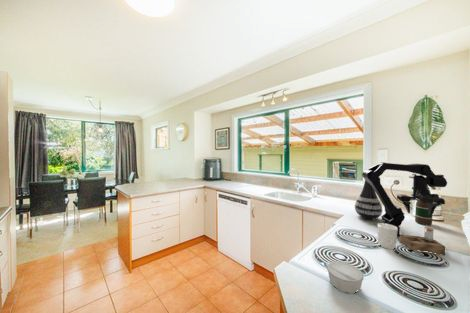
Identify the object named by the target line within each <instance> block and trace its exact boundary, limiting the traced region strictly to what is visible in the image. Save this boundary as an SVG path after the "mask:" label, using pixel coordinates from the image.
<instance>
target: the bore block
mask: <svg viewBox="0 0 470 313" xmlns="http://www.w3.org/2000/svg"><path fill="white" fill-rule="evenodd" d="M399 235H400V236H399V243H400V244H402V245H403V246H404V245H405V246H406V247H408V248H409V249H411V250H420V251H428V252H432V253H436V254H435V255H440V254H443V255H442V256H445V255H446V246H445V245H444V244H443V243H441V242H439V241H437V240H436V239H434V238H433V243H427V242H425V241H424V236H419V235H410V234H401V233H400V234H399ZM405 246H404V247H405ZM406 247H405V248H406ZM408 248H407V249H408ZM409 249H408V250H409ZM432 253H431V254H432Z"/></svg>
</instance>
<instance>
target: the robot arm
mask: <svg viewBox="0 0 470 313" xmlns="http://www.w3.org/2000/svg"><path fill="white" fill-rule="evenodd" d="M386 170H389V171H401V172H408V173H412V174H411V175H409V176H408V178H409V179H413V185H412V187H411V189H412V194H411V196H409V195H407V194H400V193H398V194H397V195H396V199H397V200H398V201H400V202H401V203H402V204H403V205H404V208H405V209H406V212H407V213H408V214H410V213H411V201H416V202H417V201H421V202H423V203H428V213H429V215H430V216H431V214H432V213H433V212H434V211H435V209H436V208H437V207H440V206H442V205H445V204H446V200H445V199H444V198H442V197H440V196H439V194H438V193H430V189H428V188H429V187H430V188H445V187H447V185H448V181H447V178H445V175H444V174H435V172H433V170H432V169H431V167H430V165H429V164H426V163H425V164H423V163H409V164H402V163H390V162H389V163H388V162H382V161H380V162H378V163H377V164H375V165H373V166H371V167H369V168H368V169H365V170H364V171H362V174H361V176H362V178H363V179H364V181H365V180H366V181H367V182H368V183H369V184H370V185H371V186H372V187H373V189H374V190H375V192H376V195H377V197H378V199H379V201H380V203H382V205H383V207H384V212H385V213H383V215H382V214H381V216H380V217H381V219H382V222H383V223H386V224H390V225H393V226H396V227H397V228H398V232H397V237H400V234H401V233H400V232H401V230H400V228H401V225H402V223H403V221H404V220H405V218H406V217H405V215H406V214H405V212H403V210H402V208H401V207H400V206H398V205H395V204H394V203H393V201H392V200H391V198H390V195H388V193H387V191H386V190H385V188H384V187H383V185H382V184H381V177H380V176H382V175H383V173H385V171H386ZM432 215H433V214H432Z"/></svg>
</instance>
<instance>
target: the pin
mask: <svg viewBox="0 0 470 313" xmlns="http://www.w3.org/2000/svg"><path fill="white" fill-rule="evenodd" d="M434 231H435V230H434V228H432V227H430V226H429V227H428V226H425V227H424V233H423V234H424V236H423V237H424V241H425V242H427V243H433V239H434Z"/></svg>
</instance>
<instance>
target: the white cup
mask: <svg viewBox="0 0 470 313" xmlns="http://www.w3.org/2000/svg"><path fill="white" fill-rule="evenodd" d="M397 232H398V228H397V227H396V226H393V225H390V224H386V223H382V222H381V223H379V222H378V223H377V244H378V243H379V244H380V245H381V246H380V245H379V244H378V245H379V246H380V247H382V248H385V249H388V250H394V248H395V249H396V244H397V241H398V240H397V239H398V236H397Z"/></svg>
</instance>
